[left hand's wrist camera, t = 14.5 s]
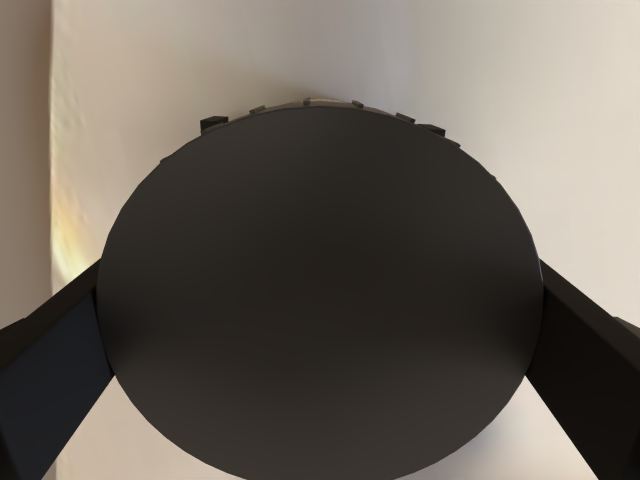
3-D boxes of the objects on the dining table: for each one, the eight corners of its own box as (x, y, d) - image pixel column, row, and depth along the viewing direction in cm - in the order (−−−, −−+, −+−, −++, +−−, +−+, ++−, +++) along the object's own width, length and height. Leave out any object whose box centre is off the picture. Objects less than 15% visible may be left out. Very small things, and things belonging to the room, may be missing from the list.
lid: (427, 454, 15) (446, 520, 13) (120, 392, 14) (81, 452, 12) (573, 163, 11) (639, 184, 9) (156, 43, 10) (107, 32, 8)
